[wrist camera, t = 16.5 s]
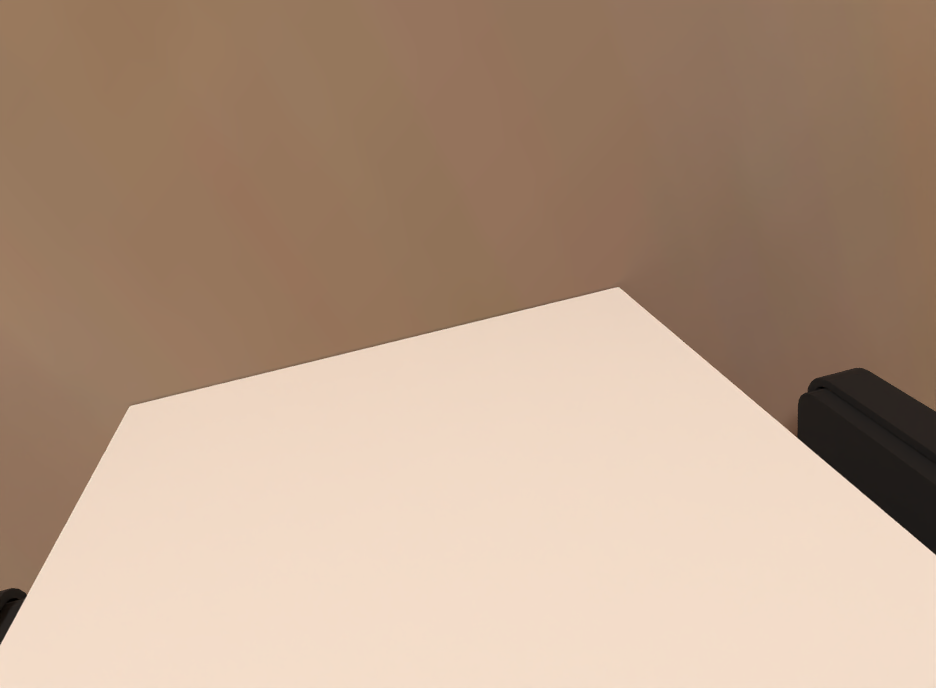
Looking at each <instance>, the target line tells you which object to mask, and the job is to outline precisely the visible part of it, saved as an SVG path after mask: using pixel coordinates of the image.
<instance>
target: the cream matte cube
mask: <svg viewBox="0 0 936 688" xmlns="http://www.w3.org/2000/svg"><path fill="white" fill-rule="evenodd" d="M0 688H936V555H935V554H934V553H933V552H932V551H930V550H929V549H928V548H927V547H926V546H924V545H923V544H922V543H921V542H920V541H919V540H917V539H916V538H915V537H914V536H913V535H911V534H910V533H909V532H908V531H907V530H906V529H904V528H903V527H902V526H901V525H900V524H898V523H897V522H896V521H895V520H894V519H893V518H891V517H890V516H889V515H888V514H887V513H885V512H884V511H883V510H882V509H881V508H879V507H878V506H877V505H876V504H875V503H874V502H872V501H871V500H870V499H869V498H868V497H866V496H865V495H864V494H863V493H862V492H861V491H859V490H858V489H857V488H856V487H855V486H853V485H852V484H851V483H850V482H849V481H848V480H846V479H845V478H844V477H843V476H842V475H840V474H839V473H838V472H837V471H836V470H834V469H833V468H832V467H831V466H830V465H829V464H827V463H826V462H825V461H824V460H823V459H821V458H820V457H819V456H818V455H817V454H816V453H814V452H813V451H812V450H811V449H810V448H808V447H807V446H806V445H805V444H804V443H803V442H801V441H800V440H799V439H798V438H797V437H795V436H794V435H793V434H792V433H791V432H790V431H788V430H787V429H786V428H785V427H784V426H782V425H781V424H780V423H779V422H778V421H776V420H775V419H774V418H773V417H772V416H771V415H769V414H768V413H767V412H766V411H765V410H763V409H762V408H761V407H760V406H759V405H758V404H756V403H755V402H754V401H753V400H752V399H750V398H749V397H748V396H747V395H746V394H745V393H743V392H742V391H741V390H740V389H739V388H737V387H736V386H735V385H734V384H733V383H731V382H730V381H729V380H728V379H727V378H726V377H724V376H723V375H722V374H721V373H720V372H718V371H717V370H716V369H715V368H714V367H713V366H711V365H710V364H709V363H708V362H707V361H705V360H704V359H703V358H702V357H701V356H700V355H698V354H697V353H696V352H695V351H694V350H692V349H691V348H690V347H689V346H688V345H686V344H685V343H684V342H683V341H682V340H681V339H679V338H678V337H677V336H676V335H675V334H673V333H672V332H671V331H670V330H669V329H668V328H666V327H665V326H664V325H663V324H662V323H660V322H659V321H658V320H657V319H656V318H655V317H653V316H652V315H651V314H650V313H649V312H647V311H646V310H645V309H644V308H643V307H642V306H640V305H639V304H638V303H637V302H636V301H634V300H633V299H632V298H631V297H630V296H628V295H627V294H626V293H625V292H624V291H623V290H621V289H620V288H619V287H617V288H612V289H608V290H604V291H600V292H596V293H592V294H588V295H584V296H580V297H576V298H571V299H567V300H563V301H559V302H555V303H551V304H547V305H543V306H539V307H535V308H530V309H526V310H522V311H518V312H514V313H510V314H506V315H502V316H498V317H493V318H489V319H485V320H481V321H477V322H473V323H469V324H465V325H461V326H457V327H452V328H448V329H444V330H440V331H436V332H432V333H428V334H424V335H420V336H416V337H411V338H407V339H403V340H399V341H395V342H391V343H387V344H383V345H379V346H375V347H370V348H366V349H362V350H358V351H354V352H350V353H346V354H342V355H338V356H334V357H329V358H325V359H321V360H317V361H313V362H309V363H305V364H301V365H297V366H293V367H288V368H284V369H280V370H276V371H272V372H268V373H264V374H260V375H256V376H252V377H247V378H243V379H239V380H235V381H231V382H227V383H223V384H219V385H215V386H210V387H206V388H202V389H198V390H194V391H190V392H186V393H182V394H178V395H174V396H169V397H165V398H161V399H157V400H153V401H149V402H145V403H141V404H137V405H133V406H130V407H129V409H128V410H127V412H126V414H125V416H124V418H123V420H122V422H121V423H120V425H119V427H118V429H117V431H116V433H115V434H114V436H113V438H112V440H111V442H110V444H109V445H108V447H107V449H106V451H105V453H104V455H103V457H102V458H101V460H100V462H99V464H98V466H97V468H96V469H95V471H94V473H93V475H92V477H91V479H90V481H89V482H88V484H87V486H86V488H85V490H84V492H83V493H82V495H81V497H80V499H79V501H78V503H77V504H76V506H75V508H74V510H73V512H72V514H71V516H70V517H69V519H68V521H67V523H66V525H65V527H64V528H63V530H62V532H61V534H60V536H59V538H58V540H57V541H56V543H55V545H54V547H53V549H52V551H51V552H50V554H49V556H48V558H47V560H46V562H45V564H44V565H43V567H42V569H41V571H40V573H39V575H38V576H37V578H36V580H35V582H34V584H33V586H32V587H31V589H30V591H29V593H28V595H27V597H26V599H25V600H24V602H23V604H22V606H21V608H20V610H19V611H18V613H17V615H16V617H15V619H14V621H13V623H12V624H11V626H10V628H9V630H8V632H7V634H6V635H5V637H4V639H3V641H2V643H1V645H0Z"/></svg>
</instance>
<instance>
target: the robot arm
mask: <svg viewBox="0 0 936 688" xmlns="http://www.w3.org/2000/svg"><path fill="white" fill-rule="evenodd" d="M798 439H799V440H800V441H801V442H803V443H804V444H805V445H806V446H807V447H808V448H810V449H811V450H812V451H813V452H814V453H816V454H817V455H818V456H819V457H820V458H821V459H823V460H824V461H825V462H826V463H827V464H829V465H830V466H831V467H832V468H833V469H834V470H836V471H837V472H838V473H839V474H840V475H842V476H843V477H844V478H845V479H846V480H848V481H849V482H850V483H851V484H852V485H853V486H855V487H856V488H857V489H858V490H859V491H861V492H862V493H863V494H864V495H865V496H866V497H868V498H869V499H870V500H871V501H872V502H874V503H875V504H876V505H877V506H878V507H879V508H881V509H882V510H883V511H884V512H885V513H887V514H888V515H889V516H890V517H891V518H893V519H894V520H895V521H896V522H897V523H898V524H900V525H901V526H902V527H903V528H904V529H906V530H907V531H908V532H909V533H910V534H911V535H913V536H914V537H915V538H916V539H917V540H919V541H920V542H921V543H922V544H923V545H924V546H926V547H927V548H928V549H929V550H930V551H932V552H933V553H934V554H935V555H936V412H935V411H934V410H932V409H930V408H929V407H927V406H925V405H924V404H922V403H920V402H919V401H917V400H916V399H914V398H912V397H911V396H909V395H907V394H906V393H904V392H902V391H901V390H899V389H897V388H896V387H894V386H893V385H891V384H889V383H888V382H886V381H884V380H883V379H881V378H879V377H878V376H876V375H874V374H873V373H871V372H870V371H868V370H865V369H863V368H854V369H850V370H846V371H843V372H839V373H835V374H831V375H827V376H823V377H820V378H816V379H814V380H813V381H812V382H811V383H810V385H809V387H808V393H804V394H803V395H801V397H800V399H799V403H798ZM26 597H27V595H26V593H25V592H23V591H21V590H20V589H15V588H11V589H7V590H3V591H0V645H1V643H2V641H3V639H4V637H5V635H6V634H7V632H8V630H9V628H10V626H11V624H12V623H13V621H14V619H15V617H16V615H17V613H18V611H19V610H20V608H21V606H22V604H23V602H24V600H25V599H26Z"/></svg>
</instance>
